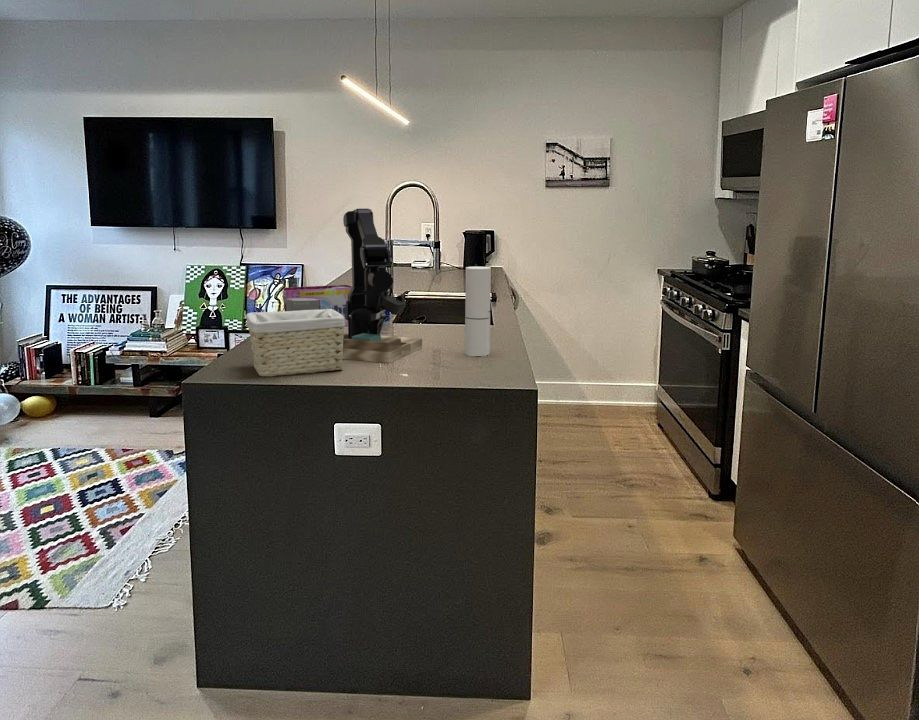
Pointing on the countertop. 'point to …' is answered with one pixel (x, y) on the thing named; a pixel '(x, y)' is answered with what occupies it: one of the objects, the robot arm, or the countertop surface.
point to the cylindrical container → (477, 311)
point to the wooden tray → (380, 348)
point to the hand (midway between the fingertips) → (376, 340)
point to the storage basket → (296, 341)
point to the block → (367, 337)
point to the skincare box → (302, 304)
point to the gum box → (321, 296)
